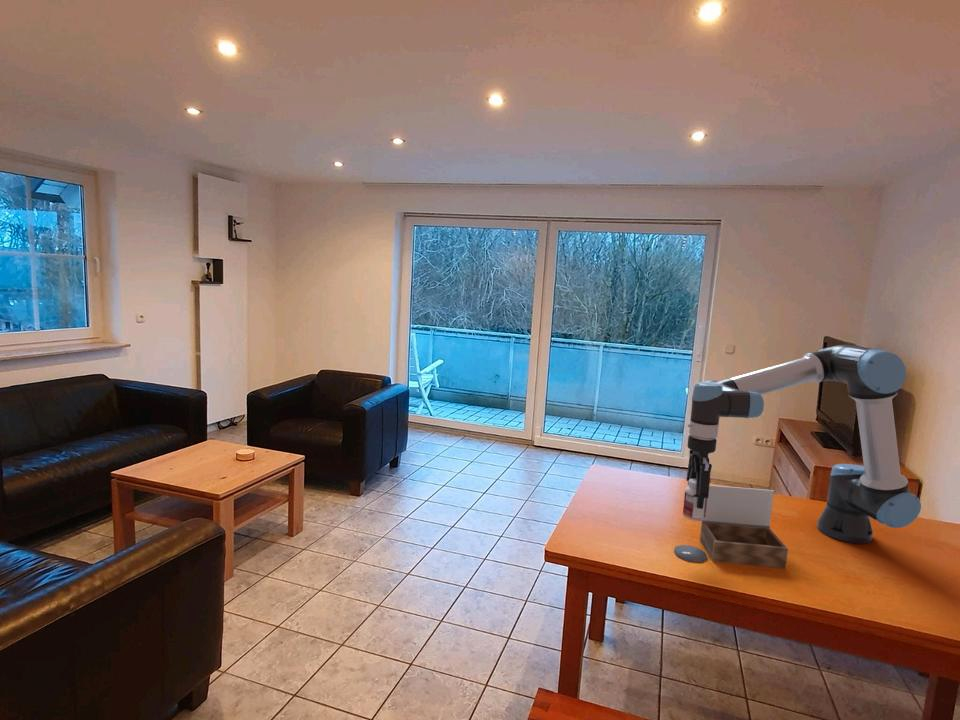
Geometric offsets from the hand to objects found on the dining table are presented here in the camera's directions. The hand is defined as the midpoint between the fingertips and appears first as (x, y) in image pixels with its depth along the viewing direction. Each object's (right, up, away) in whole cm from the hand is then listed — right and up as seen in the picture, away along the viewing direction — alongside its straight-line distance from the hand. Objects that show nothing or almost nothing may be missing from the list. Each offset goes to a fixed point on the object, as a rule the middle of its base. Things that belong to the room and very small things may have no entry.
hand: (694, 512), depth 157 cm
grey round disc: (0, -13, +2) cm, 13 cm away
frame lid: (+16, -7, +9) cm, 20 cm away
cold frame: (+16, -13, +6) cm, 21 cm away
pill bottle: (0, -2, 0) cm, 2 cm away
